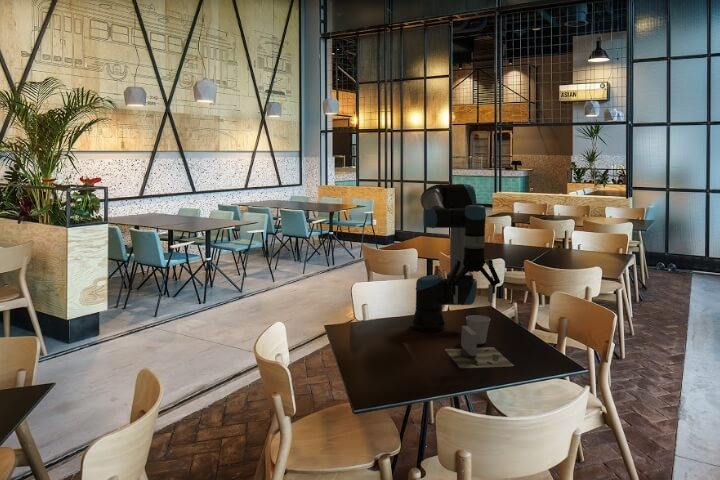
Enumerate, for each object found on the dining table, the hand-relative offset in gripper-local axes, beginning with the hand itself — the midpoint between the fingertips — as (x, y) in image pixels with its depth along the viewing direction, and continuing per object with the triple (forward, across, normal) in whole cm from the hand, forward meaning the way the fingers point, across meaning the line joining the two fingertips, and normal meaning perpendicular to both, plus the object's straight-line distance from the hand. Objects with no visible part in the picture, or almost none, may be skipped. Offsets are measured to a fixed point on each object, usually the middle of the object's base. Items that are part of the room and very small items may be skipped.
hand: (472, 302), depth 223 cm
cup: (+22, +8, +14) cm, 27 cm away
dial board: (+21, +1, -4) cm, 22 cm away
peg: (+20, -2, -4) cm, 20 cm away
